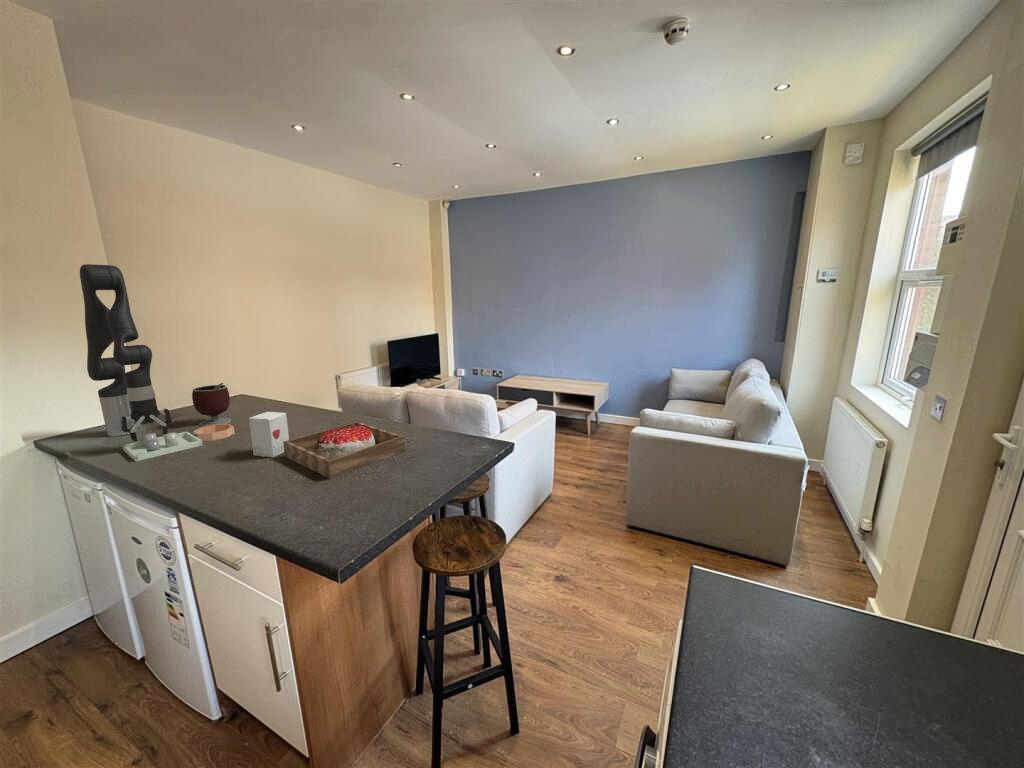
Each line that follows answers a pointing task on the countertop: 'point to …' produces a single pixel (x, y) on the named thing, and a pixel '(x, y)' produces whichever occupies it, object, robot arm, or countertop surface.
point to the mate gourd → (211, 403)
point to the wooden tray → (347, 463)
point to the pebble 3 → (170, 439)
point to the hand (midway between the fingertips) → (150, 438)
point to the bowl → (214, 432)
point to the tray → (161, 446)
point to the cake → (343, 441)
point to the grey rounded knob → (152, 445)
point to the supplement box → (268, 433)
